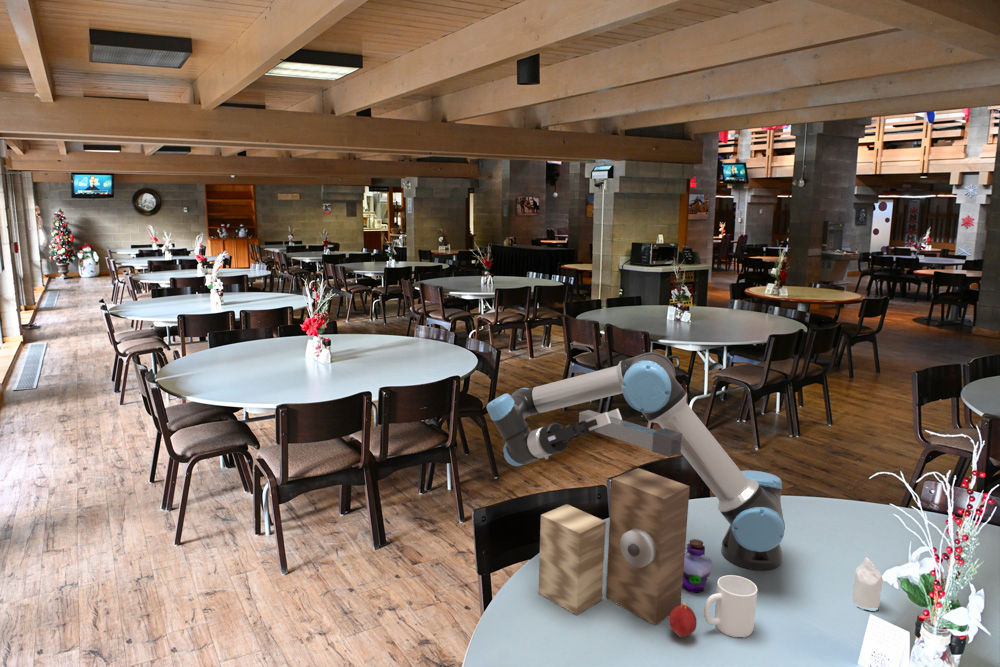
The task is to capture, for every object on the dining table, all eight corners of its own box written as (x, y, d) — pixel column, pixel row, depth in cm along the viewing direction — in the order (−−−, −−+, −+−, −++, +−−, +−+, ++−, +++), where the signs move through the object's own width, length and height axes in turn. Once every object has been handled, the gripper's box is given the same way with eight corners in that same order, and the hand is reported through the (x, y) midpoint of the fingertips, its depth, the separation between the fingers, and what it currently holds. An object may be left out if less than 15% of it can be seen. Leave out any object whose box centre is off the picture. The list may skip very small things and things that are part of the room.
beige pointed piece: (891, 562, 156) (873, 566, 154) (884, 609, 158) (867, 614, 156) (868, 550, 161) (851, 554, 159) (862, 595, 163) (845, 600, 161)
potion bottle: (683, 598, 161) (687, 551, 159) (669, 578, 170) (672, 534, 167) (717, 595, 163) (721, 549, 160) (701, 576, 171) (705, 531, 169)
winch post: (680, 607, 157) (689, 486, 152) (646, 631, 148) (655, 502, 143) (631, 582, 167) (638, 467, 162) (597, 603, 159) (602, 482, 153)
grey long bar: (577, 426, 165) (578, 409, 164) (589, 423, 168) (590, 405, 167) (669, 457, 146) (670, 437, 145) (680, 452, 149) (682, 433, 148)
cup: (761, 634, 148) (765, 592, 146) (714, 644, 144) (717, 601, 142) (737, 613, 156) (741, 572, 154) (692, 621, 152) (695, 580, 150)
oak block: (601, 600, 160) (605, 521, 156) (576, 615, 154) (579, 533, 150) (563, 579, 168) (566, 503, 165) (538, 592, 162) (540, 514, 159)
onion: (664, 628, 150) (666, 595, 148) (689, 627, 150) (692, 594, 149) (672, 645, 144) (675, 611, 142) (699, 644, 144) (702, 610, 143)
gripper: (574, 447, 181) (640, 423, 164) (530, 462, 169) (596, 439, 153) (565, 420, 182) (629, 394, 165) (521, 433, 171) (584, 407, 154)
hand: (613, 415), depth 159 cm, fingers closed on grey long bar, 3 cm apart
